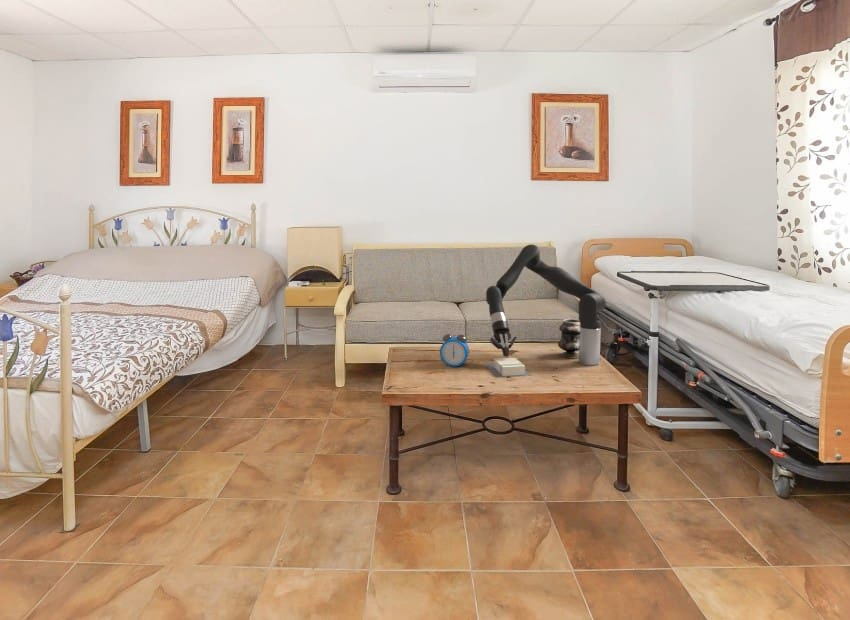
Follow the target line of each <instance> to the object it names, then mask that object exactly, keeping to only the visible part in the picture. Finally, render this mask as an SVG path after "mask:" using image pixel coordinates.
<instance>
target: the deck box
mask: <svg viewBox="0 0 850 620" xmlns="http://www.w3.org/2000/svg"><path fill="white" fill-rule="evenodd" d="M493 363H494V368H495V369H496V370H497V371H498V372H499V373H500V374H501V375H502V376H512V377H516V376H515V375H525V369H526V365H525V364H524V363H522V362H521V361H520V360H518V358H517V357H503V358H501V357H500V358H498V357H497V358H493Z"/></svg>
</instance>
